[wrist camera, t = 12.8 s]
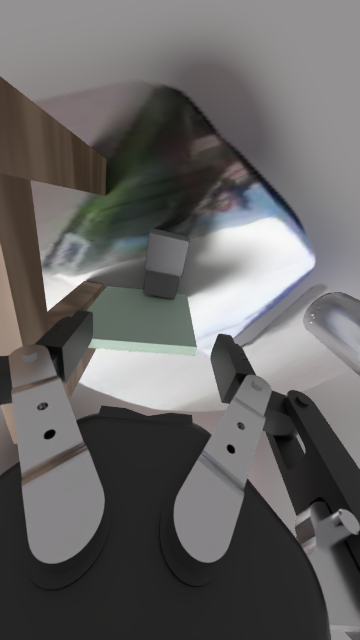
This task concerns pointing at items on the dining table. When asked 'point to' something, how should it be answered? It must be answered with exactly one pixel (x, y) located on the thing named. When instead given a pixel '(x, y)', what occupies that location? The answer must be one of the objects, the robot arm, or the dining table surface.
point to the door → (142, 322)
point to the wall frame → (20, 226)
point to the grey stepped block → (164, 263)
